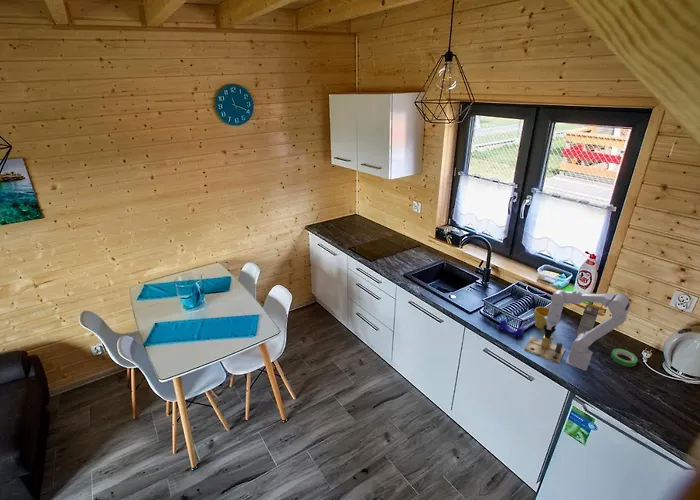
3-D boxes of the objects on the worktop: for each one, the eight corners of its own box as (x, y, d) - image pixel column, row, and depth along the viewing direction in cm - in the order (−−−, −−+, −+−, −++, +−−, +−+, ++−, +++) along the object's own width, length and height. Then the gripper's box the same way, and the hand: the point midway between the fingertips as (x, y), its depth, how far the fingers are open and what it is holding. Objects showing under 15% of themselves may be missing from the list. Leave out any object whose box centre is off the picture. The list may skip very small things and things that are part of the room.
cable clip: (523, 334, 221) (525, 326, 219) (519, 338, 218) (521, 329, 216) (502, 325, 229) (504, 316, 226) (499, 328, 226) (500, 320, 223)
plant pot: (552, 324, 230) (556, 310, 226) (549, 333, 222) (553, 319, 218) (533, 318, 235) (536, 304, 231) (529, 327, 227) (533, 312, 223)
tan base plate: (564, 350, 209) (567, 340, 207) (558, 363, 200) (561, 354, 197) (531, 337, 219) (533, 328, 216) (524, 349, 209) (526, 340, 207)
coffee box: (579, 327, 227) (586, 304, 220) (592, 332, 223) (599, 308, 217) (575, 335, 221) (583, 311, 214) (588, 340, 217) (596, 315, 210)
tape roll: (633, 355, 206) (635, 351, 205) (638, 369, 197) (640, 365, 196) (609, 350, 210) (610, 346, 209) (612, 363, 201) (614, 359, 200)
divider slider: (550, 346, 210) (553, 336, 207) (546, 354, 204) (549, 344, 201) (542, 343, 212) (545, 333, 210) (538, 351, 206) (540, 341, 204)
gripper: (550, 303, 208) (544, 324, 214) (542, 316, 198) (537, 338, 203) (564, 308, 204) (558, 329, 210) (558, 321, 194) (551, 343, 200)
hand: (548, 334), depth 206 cm, fingers open, 7 cm apart
